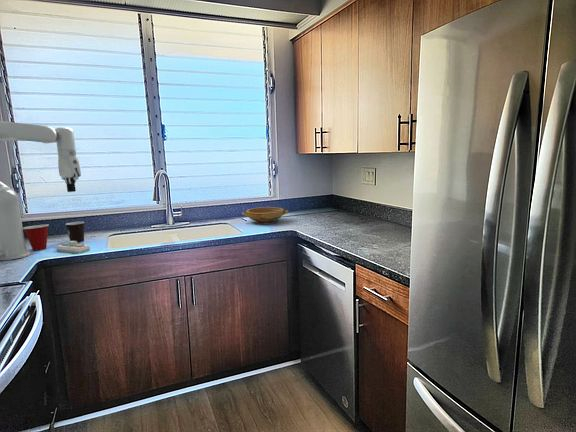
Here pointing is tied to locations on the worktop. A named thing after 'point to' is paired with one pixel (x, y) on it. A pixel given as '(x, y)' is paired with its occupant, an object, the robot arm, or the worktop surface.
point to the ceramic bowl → (265, 214)
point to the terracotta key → (79, 245)
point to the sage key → (72, 243)
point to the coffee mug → (75, 231)
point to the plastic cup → (37, 236)
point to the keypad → (73, 249)
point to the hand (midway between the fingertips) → (71, 191)
